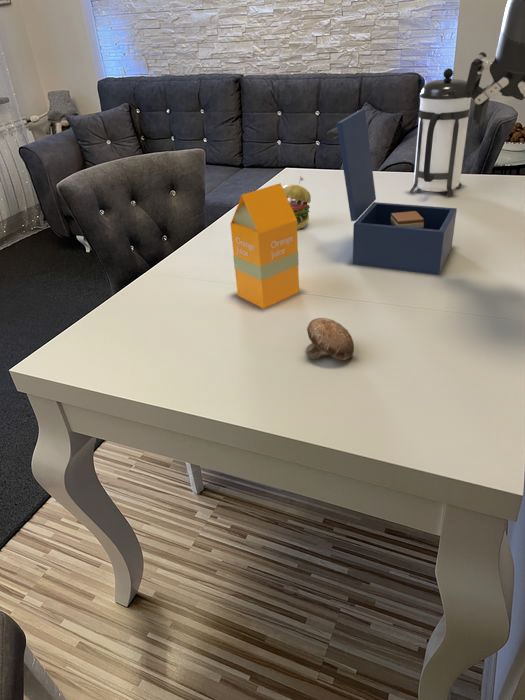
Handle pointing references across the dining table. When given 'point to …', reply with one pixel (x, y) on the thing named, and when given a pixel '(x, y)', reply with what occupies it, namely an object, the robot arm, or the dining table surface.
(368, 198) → the navy box lid
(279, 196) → the orange juice
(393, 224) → the carton
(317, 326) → the mushroom
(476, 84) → the robot arm
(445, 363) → the dining table surface
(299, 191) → the hamburger
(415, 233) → the dark blue open box
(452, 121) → the coffee press
